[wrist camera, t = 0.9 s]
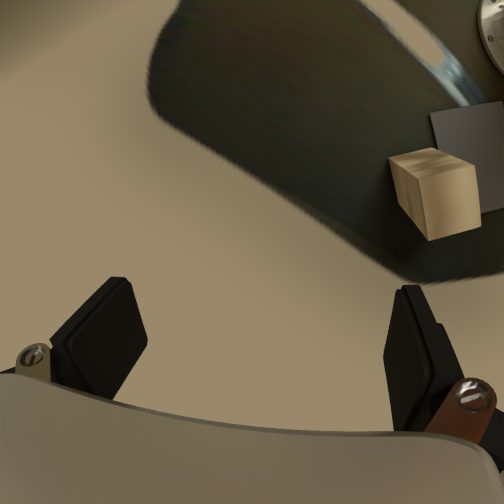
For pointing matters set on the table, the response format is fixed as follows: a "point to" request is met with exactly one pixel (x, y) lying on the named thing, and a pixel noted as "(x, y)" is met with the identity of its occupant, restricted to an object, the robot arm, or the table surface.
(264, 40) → the table surface
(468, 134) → the mat
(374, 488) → the robot arm
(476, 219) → the maple block
